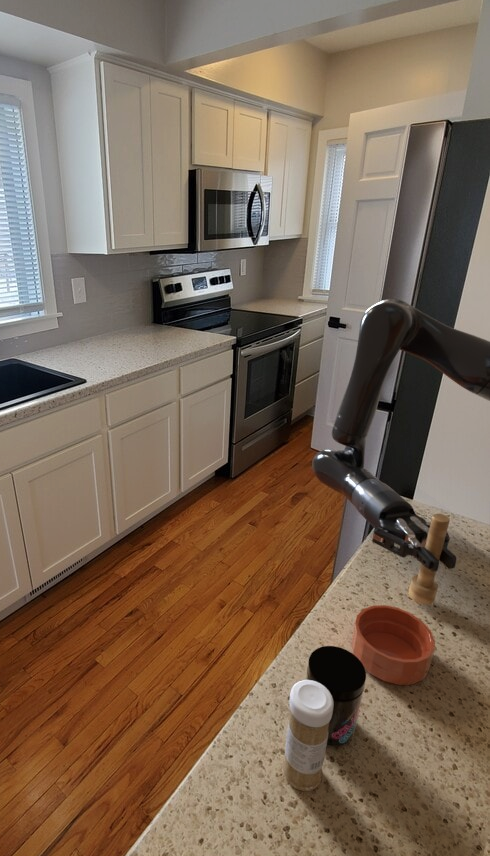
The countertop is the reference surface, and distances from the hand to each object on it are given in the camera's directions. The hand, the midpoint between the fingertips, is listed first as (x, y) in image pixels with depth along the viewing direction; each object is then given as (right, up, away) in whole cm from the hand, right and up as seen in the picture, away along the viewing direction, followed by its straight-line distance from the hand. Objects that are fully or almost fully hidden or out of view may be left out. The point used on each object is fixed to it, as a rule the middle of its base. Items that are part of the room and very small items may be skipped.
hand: (444, 565), depth 76 cm
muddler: (0, -7, +6) cm, 9 cm away
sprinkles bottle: (-28, -20, -18) cm, 39 cm away
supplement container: (-23, -18, -12) cm, 31 cm away
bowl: (-10, -13, -3) cm, 17 cm away
